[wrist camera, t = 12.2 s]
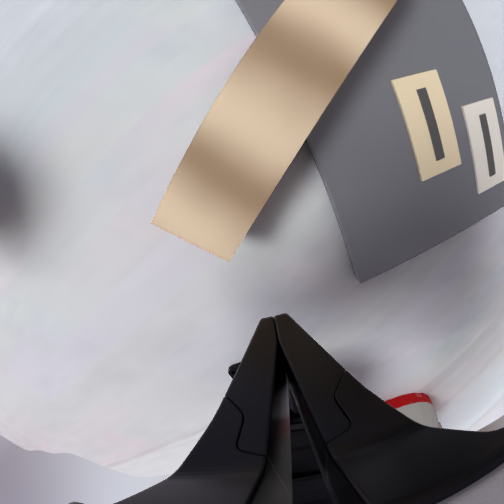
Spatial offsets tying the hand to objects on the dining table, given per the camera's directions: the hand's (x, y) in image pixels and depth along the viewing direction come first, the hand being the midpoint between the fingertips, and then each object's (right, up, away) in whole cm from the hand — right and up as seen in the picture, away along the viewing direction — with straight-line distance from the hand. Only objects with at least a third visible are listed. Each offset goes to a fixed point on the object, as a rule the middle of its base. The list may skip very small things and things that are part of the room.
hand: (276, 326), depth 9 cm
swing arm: (+1, +13, +4) cm, 14 cm away
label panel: (+10, +13, +6) cm, 18 cm away
